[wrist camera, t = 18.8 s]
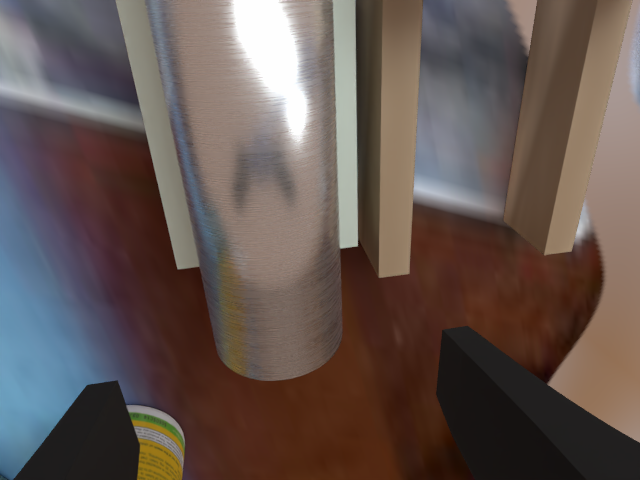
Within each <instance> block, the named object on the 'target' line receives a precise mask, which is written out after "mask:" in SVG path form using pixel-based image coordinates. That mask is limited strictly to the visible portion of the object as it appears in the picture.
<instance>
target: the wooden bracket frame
mask: <svg viewBox="0 0 640 480" xmlns="http://www.w3.org/2000/svg"><path fill="white" fill-rule="evenodd" d="M631 4H632V0H537V6H536V13H535V19H534V26H533V33H532V38H531V45H530V51H529V58H528V64H527V70H526V77H525V83H524V90H523V96H522V103H521V109H520V115H519V122H518V128H517V135H516V141H515V148H514V154H513V160H512V167H511V173H510V180H509V186H508V193H507V199H506V205H505V212H504V218H503V221H504V222H506V223H507V224H508V225H509V226H510V227H511V228H513V229H514V230H515V231H516V232H517V233H519V234H520V235H521V236H522V237H523V238H524V239H526V240H527V241H528V242H529V243H530V244H532V245H533V246H534V247H535V248H536V249H537V250H539V251H540V252H541V253H542V254H543V255H548V254H555V253H563V252H570V251H572V248H573V243H574V239H575V235H576V231H577V227H578V223H579V219H580V215H581V211H582V206H583V202H584V198H585V194H586V190H587V186H588V181H589V178H590V173H591V169H592V165H593V161H594V157H595V152H596V149H597V144H598V140H599V136H600V132H601V128H602V124H603V120H604V116H605V112H606V107H607V103H608V99H609V95H610V91H611V87H612V83H613V79H614V75H615V70H616V66H617V62H618V58H619V54H620V49H621V46H622V42H623V37H624V33H625V29H626V25H627V21H628V17H629V13H630V9H631ZM422 12H423V0H356V41H357V139H358V237H359V241H360V243H361V245H362V246H363V248H364V250H365V252H366V254H367V256H368V258H369V260H370V262H371V264H372V266H373V268H374V270H375V272H376V273H377V275H378V277H379V278H382V277H389V276H396V275H403V274H409V266H410V247H411V227H412V207H413V188H414V168H415V149H416V129H417V110H418V90H419V70H420V51H421V31H422Z"/></svg>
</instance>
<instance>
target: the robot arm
mask: <svg viewBox="0 0 640 480" xmlns="http://www.w3.org/2000/svg"><path fill="white" fill-rule="evenodd" d="M436 395H437V398H438V400H439V403H440V406H441V408H442V411H443V414H444V416H445V419H446V421H447V424H448V426H449V429H450V431H451V434H452V436H453V438H454V440H455V442H456V444H457V446H458V448H459V450H460V452H461V453H462V455H463V457H464V459H465V461H466V463H467V465H468V467H469V469H470V471H471V472H472V474H473V476H474V478H475V480H640V443H639V442H637V441H635V440H634V439H632V438H630V437H628V436H627V435H625V434H623V433H621V432H620V431H618V430H616V429H615V428H613V427H611V426H610V425H608V424H606V423H605V422H603V421H602V420H600V419H598V418H597V417H595V416H594V415H592V414H591V413H589V412H587V411H586V410H584V409H583V408H581V407H580V406H578V405H577V404H575V403H574V402H572V401H570V400H569V399H567V398H566V397H565V396H563V395H562V394H560V393H559V392H557V391H556V390H554V389H553V388H551V387H550V386H548V385H547V384H546V383H544V382H543V381H541V380H540V379H539V378H537V377H536V376H534V375H533V374H532V373H530V372H529V371H528V370H526V369H525V368H523V367H522V366H521V365H519V364H518V363H517V362H515V361H514V360H513V359H511V358H510V357H509V356H507V355H506V354H505V353H503V352H502V351H501V350H499V349H498V348H497V347H495V346H494V345H493V344H491V343H490V342H489V341H487V340H486V339H485V338H483V337H482V336H481V335H479V334H478V333H477V332H475V331H474V330H472V329H471V328H470V327H468V326H464V327H458V328H451V329H445V330H442V340H441V350H440V360H439V371H438V381H437V391H436ZM139 454H140V443H139V440H138V438H137V435H136V432H135V429H134V426H133V423H132V420H131V418H130V415H129V412H128V409H127V406H126V403H125V400H124V398H123V395H122V392H121V389H120V386H119V383H118V380H117V381H111V382H104V383H98V384H91V385H87V386H86V387H85V389H84V390H83V391H82V392H81V394H80V395H79V396H78V397H77V399H76V400H75V401H74V403H73V404H72V405H71V406H70V408H69V409H68V410H67V412H66V413H65V414H64V416H63V417H62V418H61V420H60V421H59V422H58V424H57V425H56V426H55V428H54V429H53V430H52V431H51V433H50V434H49V435H48V437H47V438H46V439H45V441H44V442H43V443H42V444H41V446H40V447H39V448H38V450H37V451H36V452H35V453H34V455H33V456H32V457H31V458H30V460H29V461H28V462H27V463H26V465H25V466H24V467H23V468H22V470H21V471H20V472H19V473H18V475H17V476H16V477H15V478H14V480H137V476H138V465H139Z"/></svg>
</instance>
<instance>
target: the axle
mask: <svg viewBox="0 0 640 480" xmlns="http://www.w3.org/2000/svg"><path fill="white" fill-rule="evenodd" d="M145 5H146V10H147V15H148V20H149V25H150V30H151V34H152V39H153V44H154V49H155V54H156V59H157V63H158V68H159V73H160V78H161V83H162V88H163V92H164V97H165V102H166V107H167V112H168V117H169V121H170V126H171V131H172V136H173V141H174V146H175V150H176V155H177V160H178V165H179V170H180V175H181V179H182V184H183V189H184V194H185V199H186V204H187V208H188V213H189V218H190V223H191V228H192V233H193V237H194V242H195V247H196V252H197V257H198V262H199V267H200V271H201V276H202V281H203V286H204V291H205V296H206V300H207V305H208V310H209V315H210V320H211V325H212V329H213V334H214V339H215V344H216V349H217V352H218V355H219V357H220V359H221V360H222V362H223V363H224V364H225V365H226V366H227V367H228V368H230V369H231V370H232V371H234V372H236V373H238V374H240V375H242V376H245V377H248V378H252V379H257V380H266V381H276V380H286V379H292V378H295V377H299V376H302V375H305V374H307V373H310V372H312V371H314V370H316V369H317V368H319V367H320V366H322V365H323V364H325V363H326V362H327V361H328V360H329V359H330V358H331V357H332V356H333V355H334V354H335V352H336V351H337V349H338V347H339V345H340V343H341V339H342V300H341V264H340V229H339V194H338V158H337V123H336V88H335V52H334V17H333V0H145Z"/></svg>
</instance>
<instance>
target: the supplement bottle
mask: <svg viewBox="0 0 640 480" xmlns="http://www.w3.org/2000/svg"><path fill="white" fill-rule="evenodd" d="M126 406H127V409H128V412H129V415H130V418H131V420H132V423H133V426H134V429H135V432H136V435H137V438H138V440H139V443H140V454H139V465H138V476H137V480H182V473H183V463H184V452H185V439H184V434H183V432H182V429H181V427H180V426H179V424H178V423H177V422H176V421H175V420H174V419H173V418H172V417H171V416H169V415H168V414H166V413H164V412H162V411H160V410H157V409H155V408H151V407H147V406H140V405H126Z"/></svg>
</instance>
